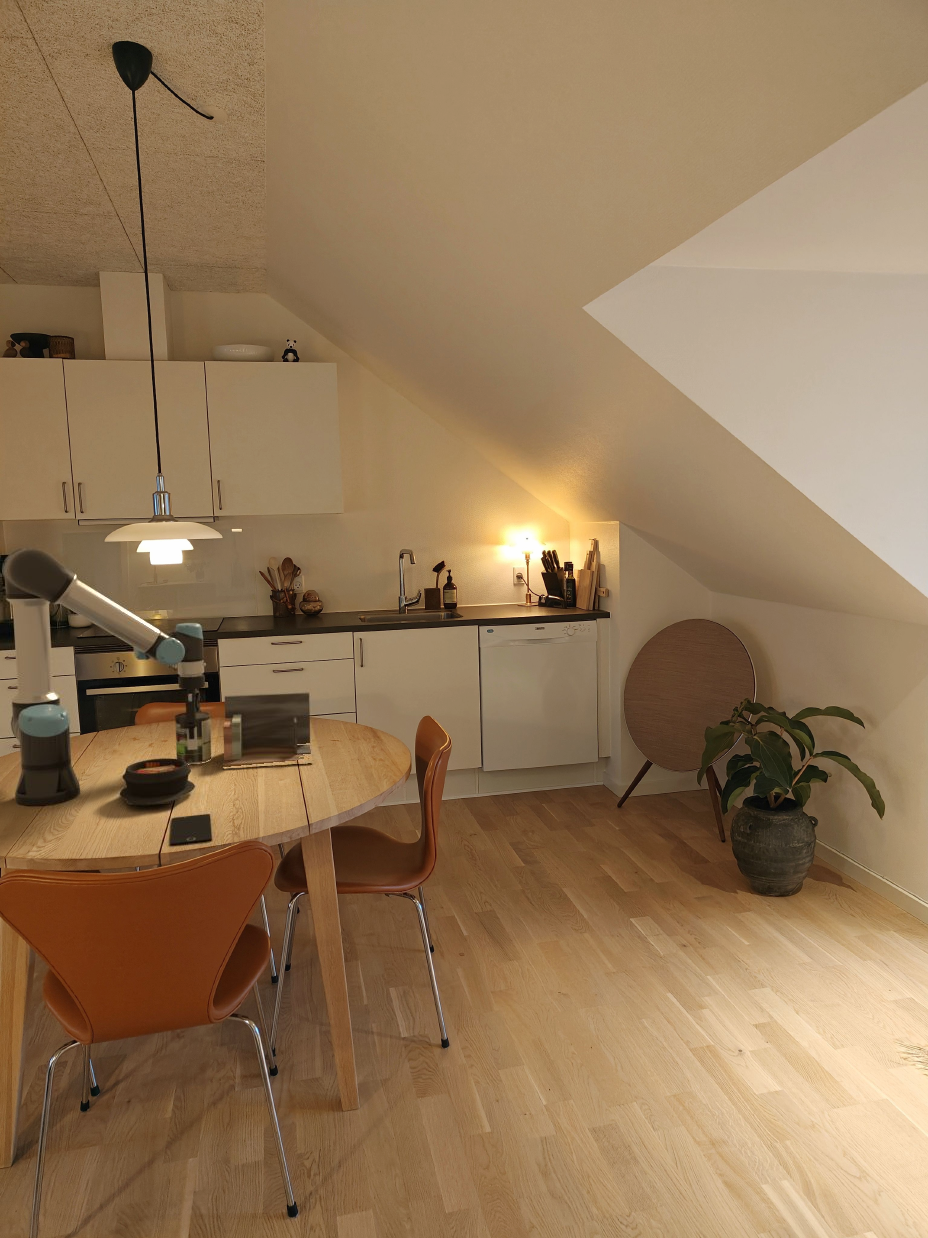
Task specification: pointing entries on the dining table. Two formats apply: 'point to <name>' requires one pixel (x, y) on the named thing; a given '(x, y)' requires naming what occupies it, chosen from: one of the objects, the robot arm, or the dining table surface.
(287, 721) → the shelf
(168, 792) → the casserole
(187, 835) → the cell phone
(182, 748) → the coffee can
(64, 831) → the dining table surface
